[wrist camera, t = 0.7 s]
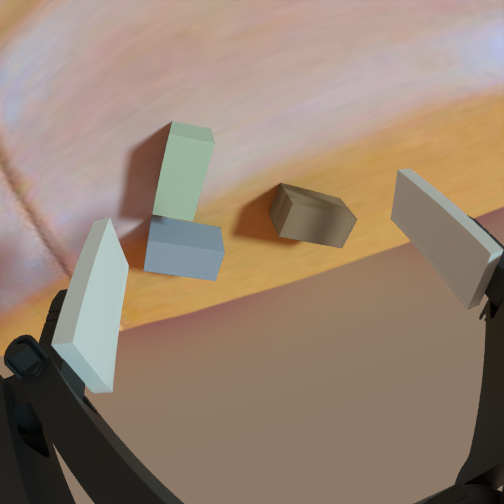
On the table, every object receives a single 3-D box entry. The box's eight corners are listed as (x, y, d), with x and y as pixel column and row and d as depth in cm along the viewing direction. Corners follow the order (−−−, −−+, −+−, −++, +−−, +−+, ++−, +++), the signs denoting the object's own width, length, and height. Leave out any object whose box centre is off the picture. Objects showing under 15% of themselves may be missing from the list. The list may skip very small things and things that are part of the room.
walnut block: (268, 212, 38) (278, 236, 34) (280, 182, 35) (292, 203, 32) (326, 225, 40) (342, 248, 36) (339, 197, 38) (357, 219, 34)
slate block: (147, 244, 37) (143, 270, 33) (152, 215, 35) (147, 240, 31) (211, 253, 40) (215, 280, 36) (220, 226, 38) (224, 252, 34)
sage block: (192, 197, 35) (192, 221, 31) (156, 191, 33) (152, 214, 30) (211, 128, 30) (214, 143, 27) (172, 120, 29) (169, 133, 25)
